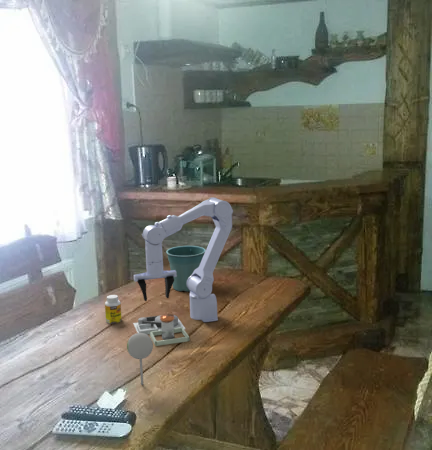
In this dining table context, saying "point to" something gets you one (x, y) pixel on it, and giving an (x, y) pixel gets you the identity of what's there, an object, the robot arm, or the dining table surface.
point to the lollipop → (140, 348)
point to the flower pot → (184, 264)
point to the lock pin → (167, 326)
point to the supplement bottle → (113, 309)
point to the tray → (169, 341)
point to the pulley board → (153, 324)
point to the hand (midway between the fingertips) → (156, 298)
